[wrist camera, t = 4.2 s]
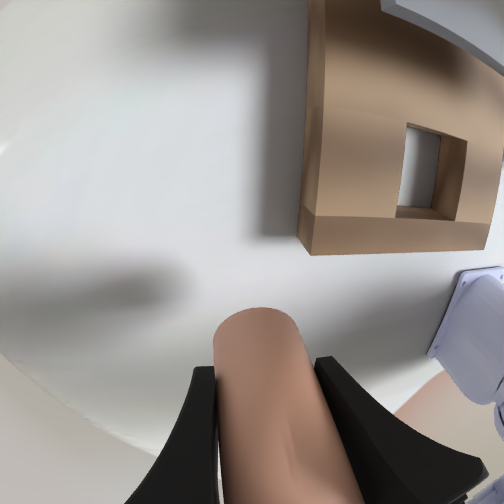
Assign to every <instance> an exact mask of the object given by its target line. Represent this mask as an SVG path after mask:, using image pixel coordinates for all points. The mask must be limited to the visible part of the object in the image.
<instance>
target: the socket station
mask: <svg viewBox="0 0 504 504" xmlns="http://www.w3.org/2000/svg"><path fill="white" fill-rule="evenodd" d="M407 126H408V127H412V128H416V129H419V130H423V131H426V132H430V133H433V134H437V135H440V136H441V143H440V152H439V161H438V169H437V176H436V183H435V189H434V195H433V200H432V206H431V208H419V207H406V206H397V202H398V196H399V190H400V183H401V176H402V168H403V160H404V150H405V140H406V127H407ZM503 150H504V0H308V63H307V95H306V117H305V136H304V152H303V167H302V181H301V194H300V206H299V217H298V228H297V237H298V239H299V240H300V242H301V243H302V244H303V246H304V247H305V249H306V250H307V251H308V253H309V254H310V256H316V255H350V254H381V253H412V252H440V251H468V250H484V248H485V244H486V241H487V237H488V233H489V229H490V225H491V221H492V217H493V213H494V208H495V203H496V198H497V193H498V187H499V181H500V175H501V167H502V159H503Z"/></svg>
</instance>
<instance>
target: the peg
mask: <svg viewBox="0 0 504 504" xmlns="http://www.w3.org/2000/svg"><path fill="white" fill-rule="evenodd" d="M213 348H214V370H215V384H216V411H217V427H218V441H219V454H220V466H221V477H222V488H223V497H224V504H365V502H364V500H363V497H362V494H361V491H360V489H359V486H358V483H357V481H356V478H355V475H354V473H353V470H352V467H351V464H350V462H349V459H348V456H347V454H346V451H345V449H344V446H343V443H342V441H341V438H340V435H339V433H338V430H337V428H336V425H335V422H334V420H333V417H332V414H331V412H330V409H329V407H328V404H327V402H326V399H325V396H324V394H323V391H322V389H321V386H320V384H319V381H318V378H317V376H316V373H315V371H314V368H313V366H312V363H311V361H310V358H309V356H308V353H307V351H306V348H305V345H304V343H303V340H302V338H301V335H300V333H299V330H298V328H297V326H296V324H295V322H294V321H293V319H292V318H291V317H290V316H288V315H287V314H285V313H283V312H281V311H279V310H276V309H272V308H251V309H246V310H243V311H240V312H238V313H235V314H233V315H232V316H230V317H229V318H227V319H226V320H225V321H224V322H223V323H222V324H221V325H220V326H219V327H218V329H217V331H216V333H215V335H214V340H213Z"/></svg>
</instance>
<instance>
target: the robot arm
mask: <svg viewBox="0 0 504 504" xmlns="http://www.w3.org/2000/svg"><path fill="white" fill-rule="evenodd" d="M503 276H504V267H495V268H488V269H479V270H471V271H464V272H463V273H462V274H461V275H460V277H459V280H458V283H457V286H456V289H455V291H454V294H453V297H452V299H451V302H450V304H449V307H448V309H447V312H446V314H445V316H444V319H443V321H442V323H441V326H440V328H439V330H438V332H437V334H436V337H435V339H434V341H433V343H432V345H431V347H430V349H429V351H428V353H427V356H428V357H429V358H432V357H436V359H437V360H438V361H439V363H440V364H441V365H442V366H443V368H444V369H445V370H446V372H447V373H448V374H449V375H450V377H451V378H452V380H453V381H454V382H455V384H456V385H457V386H458V387H459V389H460V391H461V392H462V393H463V394H464V395H465V396H466V397H467V398H468V399H470V400H471V401H473V402H475V403H477V404H481V405H485V404H490V403H492V402H494V401H495V402H496V405H495V408H494V421H495V426H496V429H497V431H498V433H499V435H500V437H501V438H502V440H503V441H504V284H503V283H501V282H502V279H503ZM314 371H315V373H316V376H317V378H318V381H319V384H320V386H321V389H322V391H323V394H324V396H325V399H326V402H327V404H328V407H329V409H330V412H331V414H332V417H333V420H334V422H335V425H336V428H337V430H338V433H339V435H340V438H341V441H342V443H343V446H344V449H345V451H346V454H347V456H348V459H349V462H350V464H351V467H352V470H353V473H354V475H355V478H356V481H357V483H358V486H359V489H360V491H361V494H362V497H363V500H364V502H365V504H465V502H464V501H465V500H466V499H467V498H468V497H467V495H466V493H467V492H469V491H470V490H471V489H473V488H474V487H475V486H477V485H478V484H480V483H481V482H482V481H483V480H484V479H486V478H487V477H488V476H489V473H488V471H487V469H486V467H485V466H484V464H483V462H482V461H481V459H480V458H478V457H475V456H471V455H468V454H465V453H462V452H459V451H456V450H453V449H451V448H448V447H446V446H444V445H442V444H439V443H437V442H435V441H434V440H432V439H430V438H428V437H426V436H424V435H422V434H421V433H419V432H417V431H416V430H414V429H412V428H411V427H409V426H408V425H407V424H405V423H404V422H402V421H401V420H399V419H398V418H397V417H395V416H394V415H393V414H392V413H390V412H389V411H388V410H387V409H385V408H384V407H383V406H382V405H381V404H380V403H378V402H377V401H376V400H375V399H374V398H373V397H372V396H371V395H370V394H369V393H368V392H367V391H366V390H365V389H363V388H362V387H361V386H360V385H359V384H358V383H357V382H356V381H355V380H354V379H353V378H352V376H351V375H350V374H349V373H348V372H347V371H346V370H345V369H344V368H343V367H342V366H341V365H340V364H339V363H338V362H337V361H336V360H335V359H334V358H333V357H332V356H329V357H322V358H316V362H315V366H314ZM124 504H220V501H219V492H218V427H217V411H216V384H215V370H214V366H200V367H195V368H194V370H193V376H192V380H191V383H190V387H189V390H188V393H187V396H186V399H185V402H184V404H183V407H182V409H181V412H180V414H179V417H178V419H177V421H176V423H175V425H174V428H173V430H172V432H171V434H170V436H169V438H168V440H167V442H166V444H165V446H164V448H163V449H162V451H161V453H160V455H159V456H158V458H157V460H156V461H155V463H154V464H153V466H152V468H151V469H150V470H149V472H148V473H147V475H146V477H145V478H144V479H143V481H142V482H141V484H140V485H139V486H138V488H137V489H136V490H135V491H134V492H133V494H132V495H131V496H130V498H129V499H128V500H127V501H126V502H125V503H124ZM466 504H504V474H503V475H502V476H500V477H499V478H498V479H496V480H495V481H493V482H492V483H490V484H489V485H487V486H486V487H485V488H484V489H482V490H481V491H480V492H479V493H477V494H476V495H475V496H473V498H472V499H471V500H470V501H468V502H467V503H466Z"/></svg>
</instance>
